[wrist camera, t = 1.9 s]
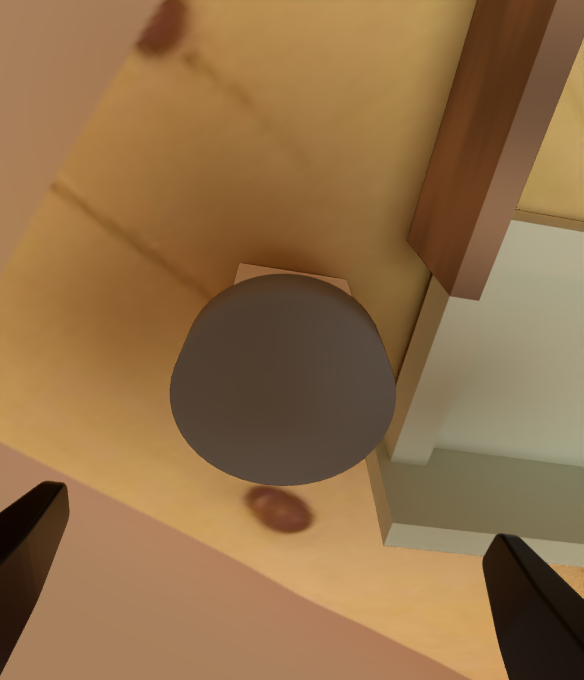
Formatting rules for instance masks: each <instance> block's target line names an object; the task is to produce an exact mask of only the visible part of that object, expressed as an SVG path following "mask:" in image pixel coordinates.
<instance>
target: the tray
mask: <svg viewBox="0 0 584 680" xmlns="http://www.w3.org/2000/svg"><path fill="white" fill-rule="evenodd" d="M366 462H367V467H368V472H369V477H370V482H371V486H372V491H373V496H374V501H375V506H376V511H377V516H378V521H379V526H380V530H381V535H382V540H383V545H384V546H391V547H401V548H410V549H419V550H428V551H438V552H447V553H456V554H466V555H475V556H484V555H485V553H486V551H487V549H488V548H489V546H490V544H491V542H492V541H493V539H494V537H495V536H496V535H497V534H499V533H505V534H513V535H517V536H519V537H520V538H521V539H522V540H523V541H524V542H525V543H526V544H527V545H528V546H530V547H531V548H532V549H533V550H534V551H535V552H536V553H537V554H538V555H539V556H540V557H541V558H542V559H543V560H544V561H545V562H546V563H549V564H558V565H568V566H577V567H584V222H582V221H576V220H570V219H565V218H559V217H553V216H548V215H542V214H536V213H530V212H525V211H519V210H515V212H514V214H513V217H512V219H511V222H510V224H509V227H508V229H507V232H506V234H505V237H504V240H503V242H502V245H501V247H500V250H499V252H498V255H497V257H496V260H495V262H494V265H493V267H492V270H491V272H490V275H489V277H488V280H487V282H486V285H485V287H484V290H483V292H482V295H481V297H480V300H479V301H476V300H470V299H463V298H457V297H451V296H449V295H448V293H447V292H446V291H445V289H444V288H443V287H442V285H441V284H440V283H439V282H438V280H437V279H436V278H435V276H434V275H433V276H432V279H431V282H430V285H429V288H428V291H427V294H426V297H425V300H424V303H423V306H422V309H421V312H420V315H419V318H418V321H417V324H416V327H415V330H414V333H413V336H412V339H411V342H410V345H409V348H408V351H407V354H406V357H405V360H404V363H403V366H402V369H401V372H400V375H399V378H398V381H397V384H396V404H395V410H394V414H393V418H392V421H391V423H390V425H389V428H388V430H387V432H386V433H385V435H384V437H383V438H382V440H381V441H380V442H379V444H378V445H377V446H376V447H375V449H374V450H373V451H372V452H371V453H370V454H369V455H367V456H366Z"/></svg>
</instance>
